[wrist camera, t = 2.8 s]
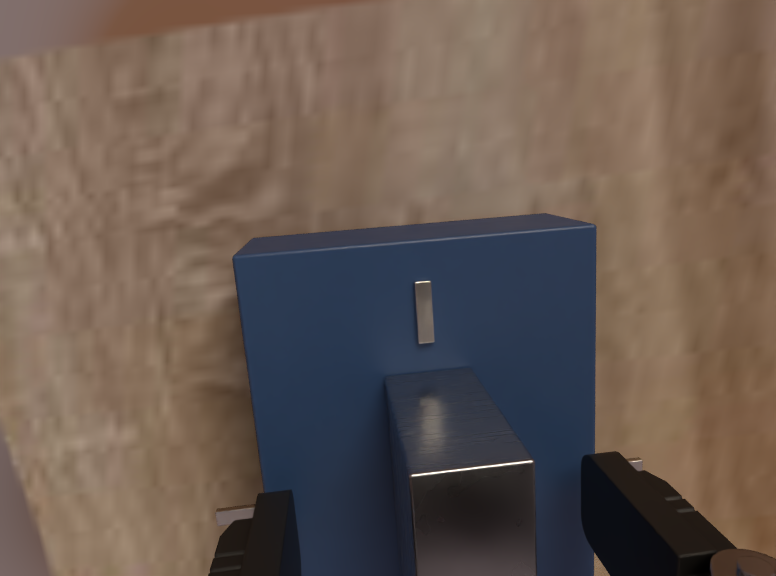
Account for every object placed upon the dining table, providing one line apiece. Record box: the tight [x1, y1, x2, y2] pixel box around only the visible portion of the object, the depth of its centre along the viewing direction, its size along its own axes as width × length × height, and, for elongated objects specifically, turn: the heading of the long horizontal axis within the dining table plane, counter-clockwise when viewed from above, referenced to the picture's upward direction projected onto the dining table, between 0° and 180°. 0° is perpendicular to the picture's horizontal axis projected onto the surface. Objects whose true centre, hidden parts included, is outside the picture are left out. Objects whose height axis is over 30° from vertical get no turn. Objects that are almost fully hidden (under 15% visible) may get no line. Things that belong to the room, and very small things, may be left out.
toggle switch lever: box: [384, 368, 537, 576], centre depth 11 cm, size 6×2×4 cm, turn 4°
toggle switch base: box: [216, 213, 642, 576], centre depth 15 cm, size 12×10×3 cm
